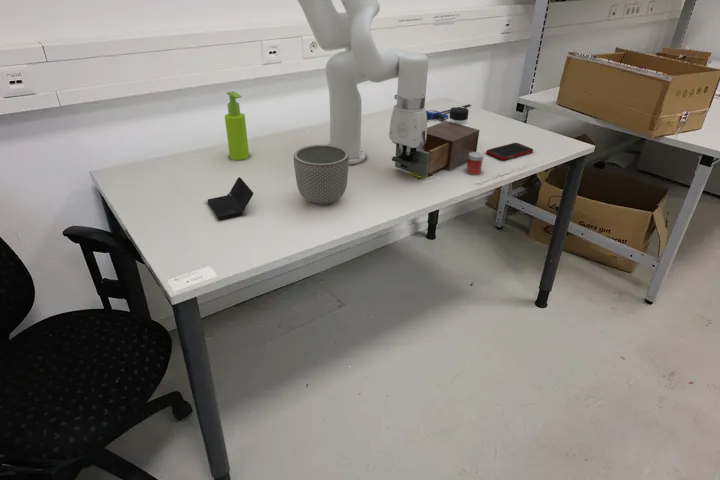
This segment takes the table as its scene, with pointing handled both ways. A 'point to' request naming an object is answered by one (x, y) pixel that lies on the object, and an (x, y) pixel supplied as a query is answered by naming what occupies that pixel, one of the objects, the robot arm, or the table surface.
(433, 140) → the drawer
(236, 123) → the soap dispenser
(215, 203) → the handheld gaming console
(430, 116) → the bar clamp
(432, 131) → the cabinet
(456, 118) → the medicine bottle
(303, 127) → the table surface
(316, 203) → the planter
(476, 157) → the shaker
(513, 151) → the cell phone
